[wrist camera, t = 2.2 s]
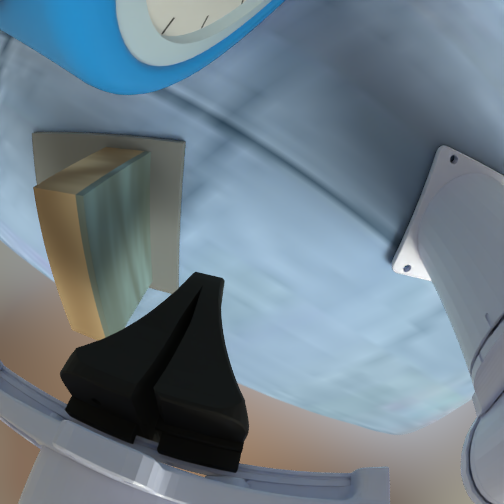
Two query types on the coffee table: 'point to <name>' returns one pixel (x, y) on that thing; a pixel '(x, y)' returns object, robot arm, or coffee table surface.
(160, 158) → the rubber mat
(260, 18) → the alarm clock
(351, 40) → the coffee table surface
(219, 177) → the coffee table surface
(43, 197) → the oak slab
